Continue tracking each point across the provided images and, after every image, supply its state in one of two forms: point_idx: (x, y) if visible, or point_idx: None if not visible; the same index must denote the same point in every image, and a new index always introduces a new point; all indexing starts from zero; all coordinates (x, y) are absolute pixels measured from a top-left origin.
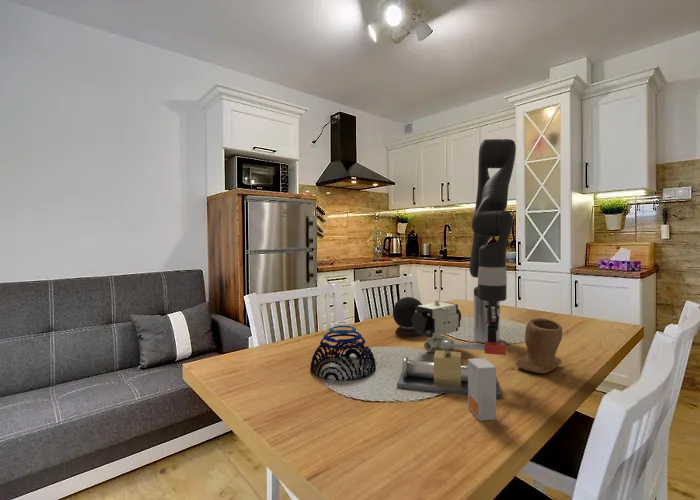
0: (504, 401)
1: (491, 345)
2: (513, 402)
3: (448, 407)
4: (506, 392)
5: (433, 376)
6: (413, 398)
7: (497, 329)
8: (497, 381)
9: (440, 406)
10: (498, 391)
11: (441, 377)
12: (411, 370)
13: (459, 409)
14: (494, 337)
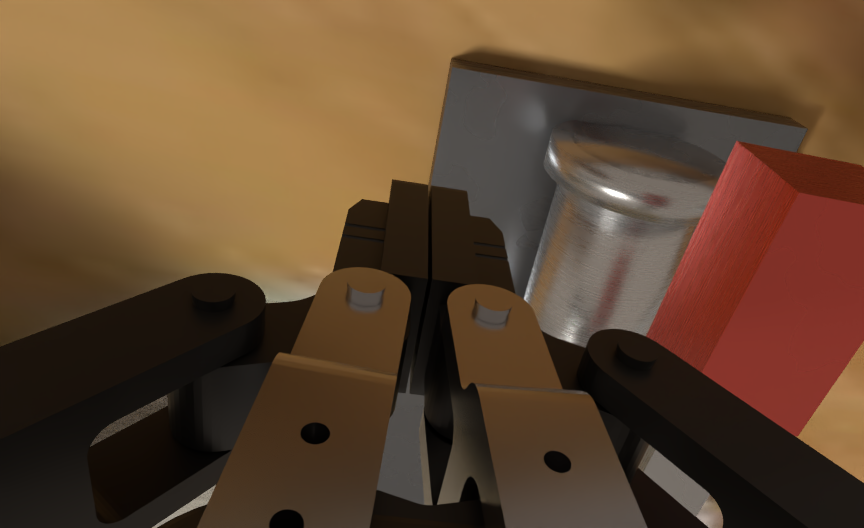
0: (827, 102)
1: (832, 368)
2: (857, 41)
3: (823, 404)
4: (687, 42)
5: None
6: (698, 518)
7: (687, 364)
8: (573, 90)
9: (804, 433)
10: (758, 133)
11: None
12: None
13: (858, 364)
14: (505, 267)
